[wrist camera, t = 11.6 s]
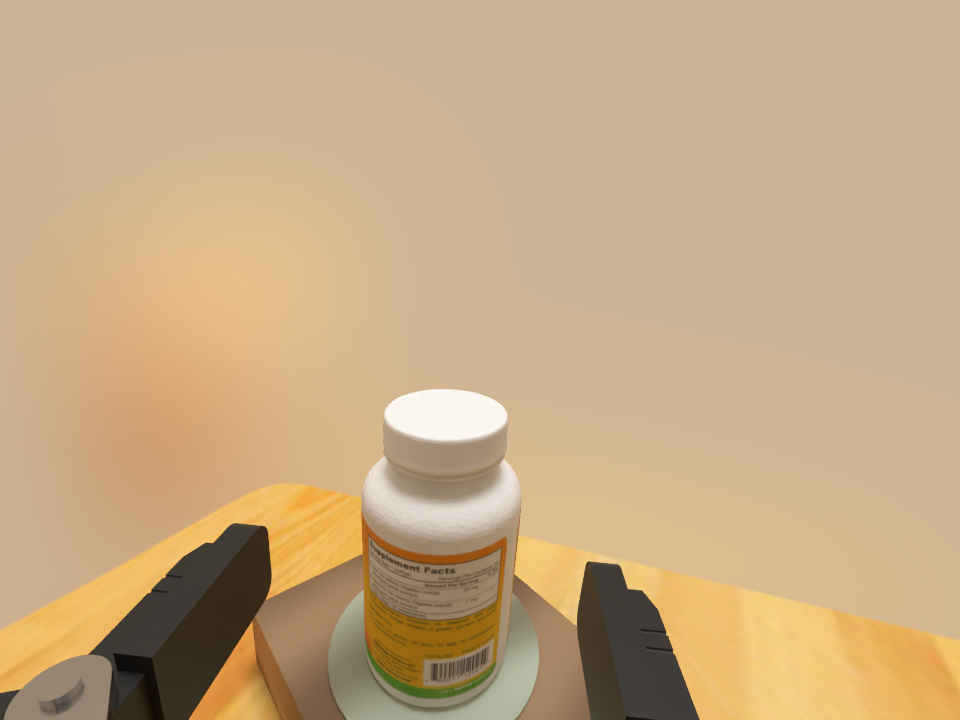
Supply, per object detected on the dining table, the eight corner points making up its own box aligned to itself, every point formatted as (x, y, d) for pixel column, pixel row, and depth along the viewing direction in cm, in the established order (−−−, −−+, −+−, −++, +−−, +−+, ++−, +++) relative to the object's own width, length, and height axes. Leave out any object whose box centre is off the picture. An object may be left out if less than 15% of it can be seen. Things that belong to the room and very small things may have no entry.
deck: (627, 737, 18) (642, 677, 17) (412, 1022, 11) (415, 952, 10) (441, 559, 26) (444, 512, 25) (256, 661, 19) (250, 603, 18)
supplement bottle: (420, 569, 21) (425, 371, 18) (528, 620, 18) (553, 402, 16) (333, 664, 16) (320, 418, 13) (462, 748, 14) (481, 473, 11)
